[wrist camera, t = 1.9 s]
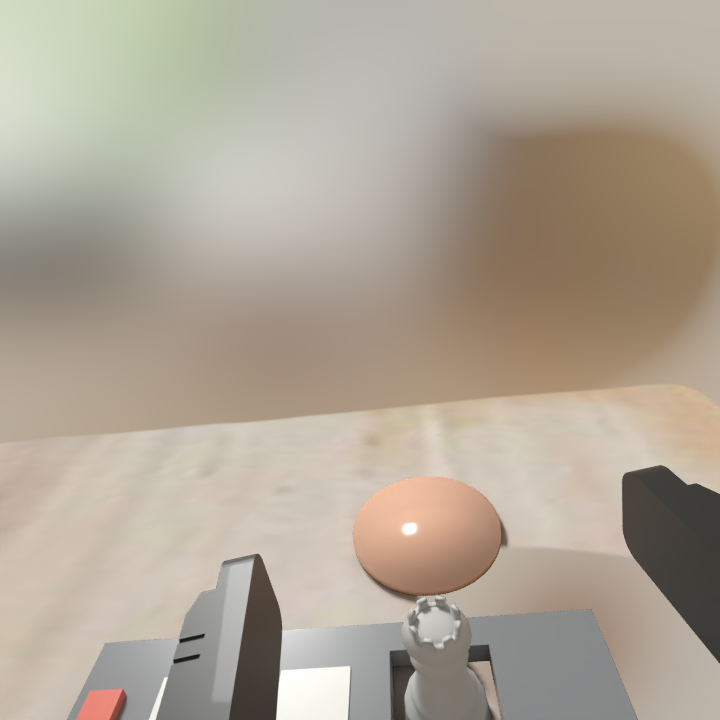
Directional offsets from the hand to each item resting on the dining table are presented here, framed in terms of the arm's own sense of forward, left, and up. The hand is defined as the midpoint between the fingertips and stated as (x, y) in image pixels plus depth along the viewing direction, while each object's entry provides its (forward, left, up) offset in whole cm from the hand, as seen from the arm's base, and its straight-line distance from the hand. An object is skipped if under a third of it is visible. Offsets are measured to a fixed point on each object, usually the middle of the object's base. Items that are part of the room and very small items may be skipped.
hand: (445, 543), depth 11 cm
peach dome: (+12, +16, -21) cm, 29 cm away
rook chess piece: (+4, +6, -21) cm, 22 cm away
